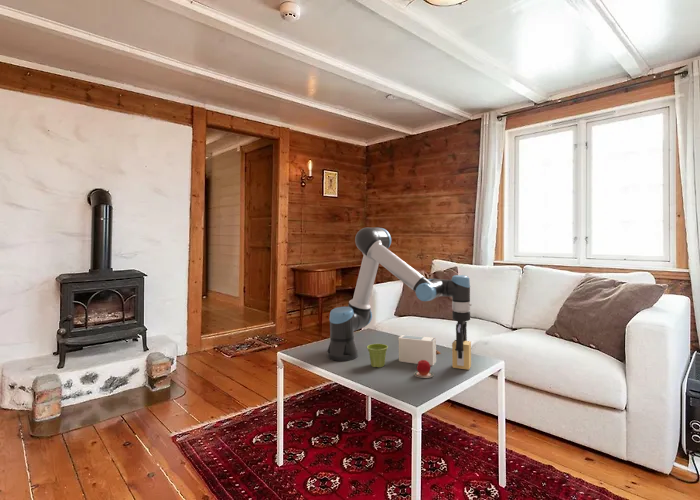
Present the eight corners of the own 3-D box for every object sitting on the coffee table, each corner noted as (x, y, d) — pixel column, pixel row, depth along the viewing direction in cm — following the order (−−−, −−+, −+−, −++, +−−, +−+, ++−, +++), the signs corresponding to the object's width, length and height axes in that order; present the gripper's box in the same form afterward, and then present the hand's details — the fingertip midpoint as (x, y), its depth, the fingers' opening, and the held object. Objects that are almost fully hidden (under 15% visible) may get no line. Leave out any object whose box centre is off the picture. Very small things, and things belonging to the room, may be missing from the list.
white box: (398, 361, 175) (398, 337, 174) (402, 357, 180) (402, 334, 180) (433, 365, 168) (432, 341, 167) (436, 361, 173) (435, 337, 173)
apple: (421, 380, 151) (421, 364, 151) (410, 373, 159) (410, 358, 158) (437, 376, 155) (437, 361, 154) (426, 370, 162) (425, 355, 162)
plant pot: (374, 370, 163) (373, 350, 163) (363, 364, 172) (363, 345, 171) (392, 366, 167) (391, 347, 167) (381, 360, 176) (380, 342, 176)
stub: (452, 367, 164) (452, 343, 163) (455, 363, 169) (454, 339, 169) (469, 369, 161) (468, 344, 160) (471, 365, 166) (470, 341, 166)
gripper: (466, 315, 154) (467, 371, 155) (473, 307, 171) (473, 357, 172) (448, 314, 157) (448, 368, 158) (456, 306, 174) (456, 355, 175)
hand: (461, 362), depth 165 cm, fingers closed on stub, 6 cm apart
